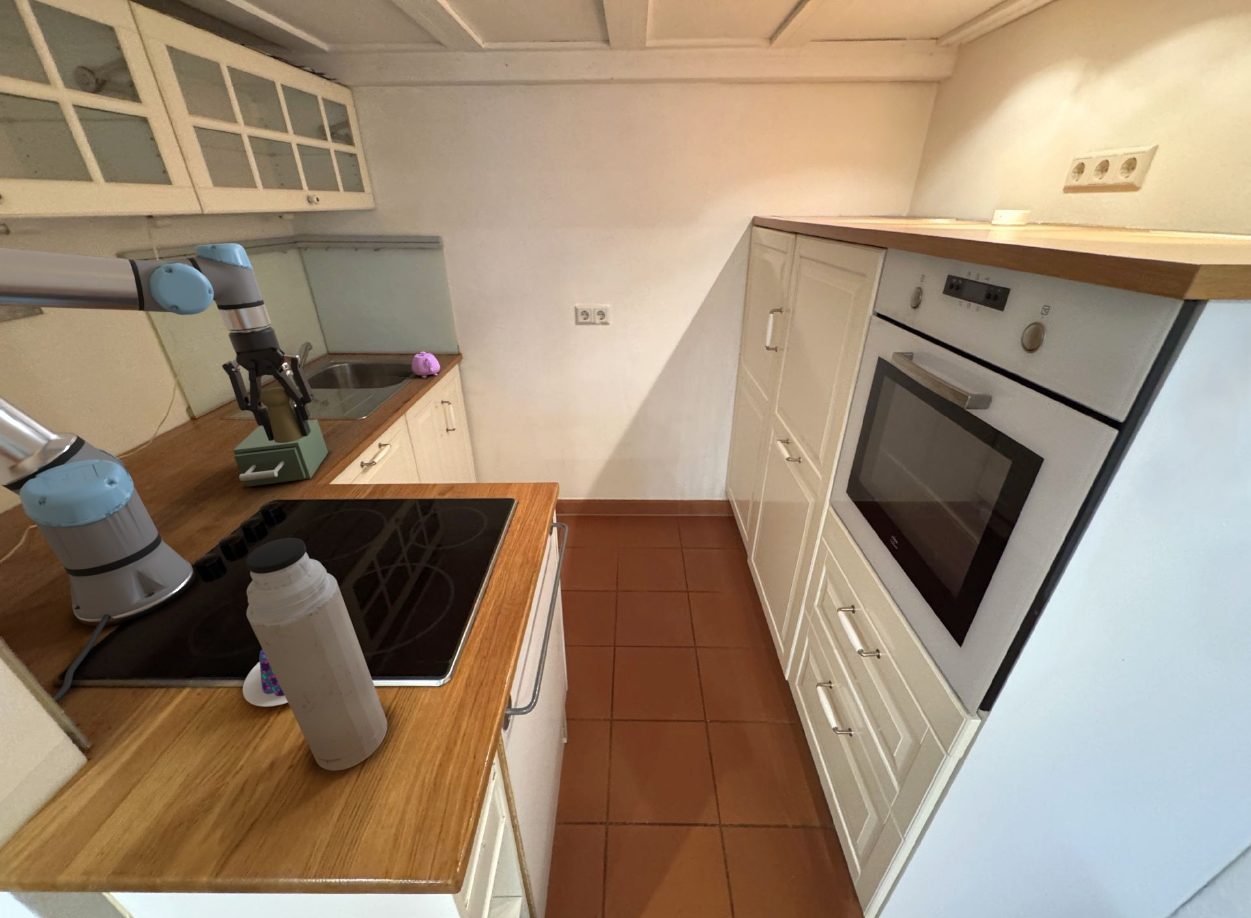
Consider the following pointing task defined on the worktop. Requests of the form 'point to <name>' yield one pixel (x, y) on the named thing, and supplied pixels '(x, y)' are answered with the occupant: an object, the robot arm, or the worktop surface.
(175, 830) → the worktop surface
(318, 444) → the cabinet
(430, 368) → the pink rounded figure
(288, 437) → the olive tapered upright piece
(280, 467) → the drawer
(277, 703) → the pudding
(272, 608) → the thermos bottle
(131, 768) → the worktop surface
